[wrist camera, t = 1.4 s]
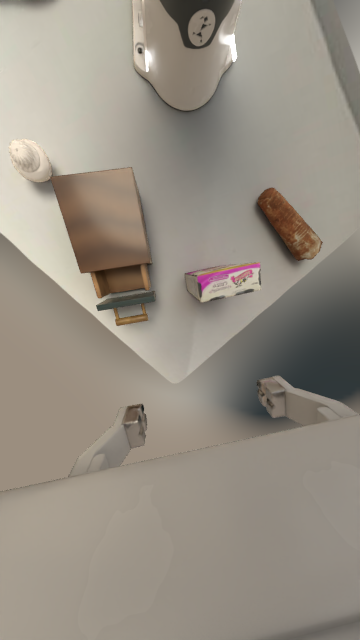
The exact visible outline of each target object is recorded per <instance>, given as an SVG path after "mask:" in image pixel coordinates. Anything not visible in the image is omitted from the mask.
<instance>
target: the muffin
mask: <svg viewBox="0 0 360 640" xmlns="http://www.w3.org/2000/svg"><path fill="white" fill-rule="evenodd" d="M9 149H10V151H9V153H10V156H11V160H12V163H13V165H14V167H15V168H16V170H17V171H18V172H19V173H20V174H21V175H22V176H23V177H25V178H26V179H28V180H30V181H34V182H45V181H48V180H49V179H50V177H51V176H52V167H51V163H50V162H49V159H48V157H47V155H46V153H45V152H44V150H43V149H42V148H41V147H40V146H39V145H38V144H36V143H35V142H33V141H31V140H28V139H21V140H18V139H16V140H12V143H10V146H9Z"/></svg>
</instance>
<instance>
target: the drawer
mask: <svg viewBox="0 0 360 640" xmlns="http://www.w3.org/2000/svg"><path fill="white" fill-rule="evenodd" d="M90 273H91V277H92V280H93V283H94V287H95V290H96V293H97V297H98V298H102V297H104V296H106V295H108V294H110V293H115V292H121V291H128V290H134V289H140V288H145V290H149V289H150V287H151V283H150V278H149V273H148V268H147V263H145V264H139V265H133V266H126V267H120V268H113V269H107V270H100V271H94V272H90ZM155 297H156V294H155V291H152V292H146V293H140V294H134V295H128V296H122V297H116V298H110V299H106V300H105V301H103V302H101V303H100V304H98V305H96V306H97V310H98V311H101V310H107V309H114V313H115V316H116V320H115V322H116V325H117V326H120V325H125V324H131V323H137V322H142V321H148V315H147V314H146V311H145V306H144V303H148V302H154V301H155ZM136 304H141V307H142V311H143V314H141V315H136V316H130V317H124V318H119V314H118V311H117V308H118V307H124V306H130V305H136Z"/></svg>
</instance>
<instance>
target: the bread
mask: <svg viewBox="0 0 360 640" xmlns="http://www.w3.org/2000/svg"><path fill="white" fill-rule="evenodd" d="M258 205H259V206H260V208H261V209H262V210H263V212H264V213H265V215H266V216H267V218H268V220H269V221H270V222H271V224H272V225H273V227H274V228H275V229H276V231H277V232H278V234H279V235H280V236H281V238H282V239H283V241H284V242H285V244H286V246H287V247H288V248H289V250H290V251H291V253H292V254H293V256H294V257H295V259H296V260H298V261H300V260H303V259H313V258H314V257H315V256H316V254H317V253H318V252H319V251H320V248H321V245H322V243H323V242H322V241H321V240H320V238H319V237H318V236H317V235H316V234H315V232H314V231H313V230H312V229H311V228H310V227H309V226H308V225H307V224H306V222H305V221H304V220H303V218H302V217H301V216H300V215H299V214H298V213H297V212H296V211H295V209H294V208H293V207H292V206H291V205H290V204H289V203H288V202H287V201H286V200H285V198H284V197H283V196H282V195H281V194H280V193H279V192H278V191H277V190H275V188H269V189H266V190H265V191H264V192H263V193H262V194H261V195H260V197H259V198H258Z"/></svg>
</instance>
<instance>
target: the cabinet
mask: <svg viewBox="0 0 360 640" xmlns="http://www.w3.org/2000/svg"><path fill="white" fill-rule="evenodd" d="M50 178H51V181H52V184H53V187H54V191H55V194H56V197H57V200H58V203H59V206H60V209H61V213H62V216H63V219H64V222H65V225H66V228H67V231H68V235H69V238H70V241H71V244H72V247H73V250H74V253H75V257H76V260H77V263H78V266H79V269H80V272H81V273H90V272H94V271H100V270H107V269H113V268H120V267H126V266H133V265H139V264H145V263H147V265H148V264H152V259H151V254H150V249H149V243H148V238H147V233H146V228H145V222H144V217H143V212H142V207H141V201H140V196H139V191H138V188H137V184H136V181H135V177H134V173H133V170H132V167H129V168H121V169H113V170H104V171H96V172H88V173H79V174H71V175H62V176H54V177H50Z"/></svg>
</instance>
